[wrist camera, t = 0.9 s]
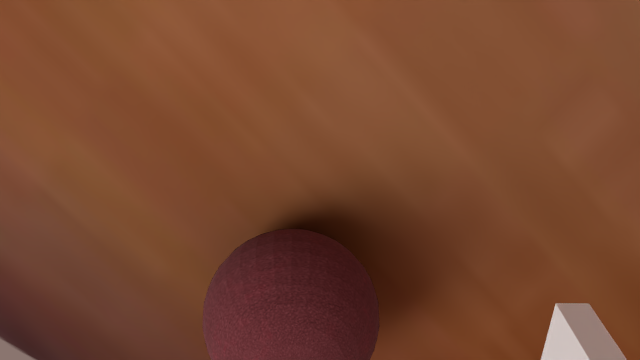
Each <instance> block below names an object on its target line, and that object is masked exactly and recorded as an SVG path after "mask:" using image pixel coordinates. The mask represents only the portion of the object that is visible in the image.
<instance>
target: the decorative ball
mask: <svg viewBox="0 0 640 360" xmlns="http://www.w3.org/2000/svg"><path fill="white" fill-rule="evenodd" d="M378 331H379V309H378V300H377V296H376V293H375V289H374V286H373V284H372V281H371V279H370V277H369V275H368V273H367V272H366V270H365V268H364V266H363V265H362V264H361V263H360V262H359V261H358V260H357V258H356V257H355V256H354V255H353V254H352V253H351V252H350V251H349V250H348V249H347V248H346V247H344V246H343V245H341V244H340V243H339V242H337V241H336V240H333V239H331V238H329V237H327V236H325V235H323V234H320V233H316V232H312V231H308V230H302V229H282V230H276V231H272V232H268V233H264V234H261V235H259V236H257V237H254V238H252V239H250V240H248V241H246V242H245V243H243V244H242V245H241V246H239V247H238V248H237V249H235V250H234V251H233V252H232V253H231V255H230V256H229V257H228V258H227V259H226V260H225V261H224V262H223V263H222V264H221V265H220V267H219V268H218V270H217V272H216V273H215V275H214V277H213V279H212V281H211V283H210V286H209V288H208V291H207V295H206V298H205V301H204V311H203V332H204V337H205V342H206V346H207V350H208V353H209V355H210V357H211V359H212V360H370V358H371V356H372V353H373V351H374V348H375V344H376V341H377V336H378Z"/></svg>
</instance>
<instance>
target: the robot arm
mask: <svg viewBox="0 0 640 360" xmlns="http://www.w3.org/2000/svg"><path fill="white" fill-rule="evenodd" d="M541 360H627V359H626V358H625V356H624V355H623V353H622V352H621V350H620V349H619V347H618V346H617V344H616V343H615V341H614V340H613V338H612V337H611V336H610V334H609V333H608V331H607V330H606V328H605V327H604V325H603V324H602V322H601V321H600V319H599V318H598V316H597V315H596V313H595V312H594V310H593V309H592V308H591V306H590V305H589V304H577V303H556V304H555V308H554V312H553V316H552V320H551V323H550V327H549V331H548V335H547V339H546V342H545V346H544V350H543V354H542V357H541Z"/></svg>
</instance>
